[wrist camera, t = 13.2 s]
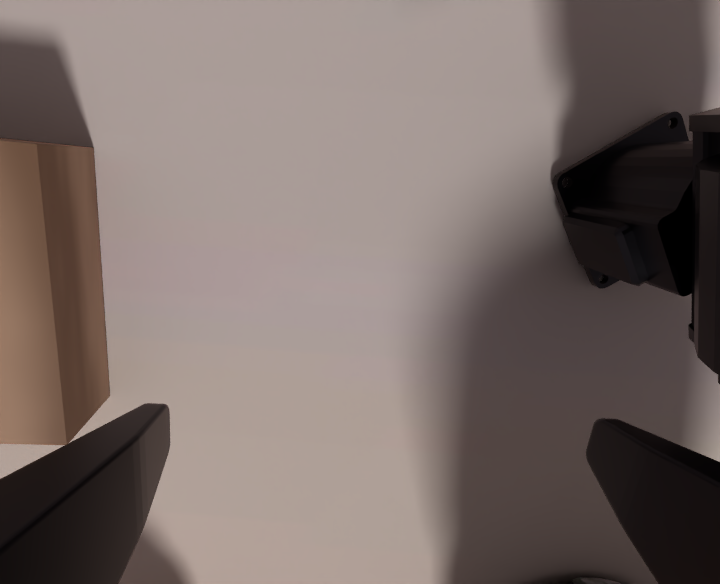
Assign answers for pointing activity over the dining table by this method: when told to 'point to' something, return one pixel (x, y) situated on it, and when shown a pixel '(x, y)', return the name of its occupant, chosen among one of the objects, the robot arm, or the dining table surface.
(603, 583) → the canister
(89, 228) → the walnut pedestal
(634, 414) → the dining table surface
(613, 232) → the robot arm
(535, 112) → the dining table surface
